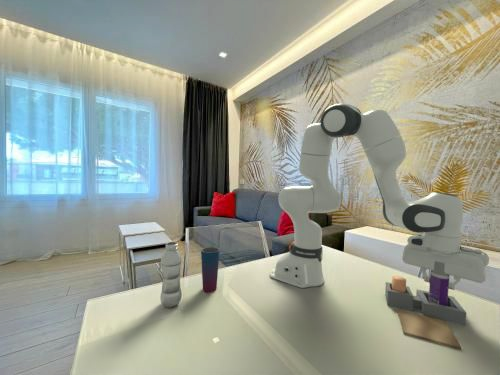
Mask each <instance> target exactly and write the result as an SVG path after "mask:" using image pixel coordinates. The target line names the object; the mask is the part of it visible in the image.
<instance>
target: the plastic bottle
mask: <svg viewBox="0 0 500 375" xmlns="http://www.w3.org/2000/svg"><path fill="white" fill-rule="evenodd" d="M178 246H179V244H178V242H177V241H169V242H166V243H165V248H164V249H165V252H164V254H163V255H162V257H161V259H160V265H161V273H162V274H161V276H162V286H161V293H160V303H161V304H162V306H163V307H165V308H173V307H176V306H178V305H179V304H180V302H181V301H182V296H183V295H182V288H181V268H182V261H183V258H182V255H181V254H180V252H179V251H178V250H179V249H178V248H179V247H178Z"/></svg>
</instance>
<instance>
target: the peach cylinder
mask: <svg viewBox="0 0 500 375" xmlns="http://www.w3.org/2000/svg"><path fill="white" fill-rule="evenodd" d="M391 283H392V290H394V291H398V292H403V293H406V286H407V279H406V278H405V277H403V276H399V275H393V276H392V279H391Z"/></svg>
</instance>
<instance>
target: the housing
mask: <svg viewBox="0 0 500 375" xmlns="http://www.w3.org/2000/svg"><path fill="white" fill-rule="evenodd" d="M384 290H385V291H384V296H385V301H386V305H387V306H391V307H393V308H397V309H403V310H405V311H406V310H408V311H409V312H410V311H411V312H413V309H414V310H419V311H420V312H421V315H424V316H428V317H432V318H436V319H440V320H444V321H446V323H447V322H448V323H451V324H456V325H460V326H464V327H466V324H467V311H466V310H465V309H464V308H463V306H462V305H461V304H460V303H459V302H458V300H457V299H456V298H455V296H452V295H448V303H447V306H444V305H439V304H434V303H430V302H428V300H429V291H427V290H422V289H416V292H415V293H416V295H414V294H413V292H412V290H411V288H410V286H407V285H406V293H403V292H398V291H394V290H392V282H387V281H386V282H385V289H384Z"/></svg>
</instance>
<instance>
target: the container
mask: <svg viewBox="0 0 500 375" xmlns="http://www.w3.org/2000/svg"><path fill="white" fill-rule="evenodd" d="M444 267H445V263H441V262H437V261H435V263H434V270H430V274H429V276H430V283H429V288H428V290H429V291H428V292H429V300H428V302H430V303H434V304H439V305H444V306H447V303H448V296H449V290H450V289H449V288H448V283H449V282H450V275H448V274H445V272H444Z"/></svg>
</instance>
